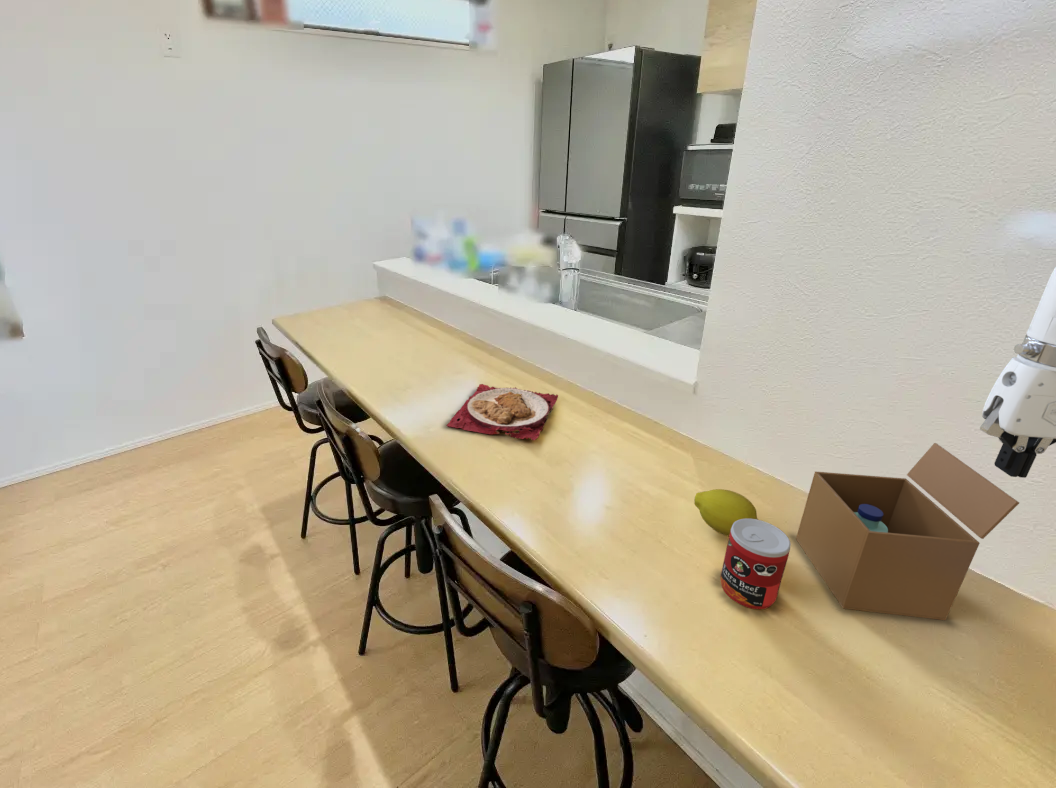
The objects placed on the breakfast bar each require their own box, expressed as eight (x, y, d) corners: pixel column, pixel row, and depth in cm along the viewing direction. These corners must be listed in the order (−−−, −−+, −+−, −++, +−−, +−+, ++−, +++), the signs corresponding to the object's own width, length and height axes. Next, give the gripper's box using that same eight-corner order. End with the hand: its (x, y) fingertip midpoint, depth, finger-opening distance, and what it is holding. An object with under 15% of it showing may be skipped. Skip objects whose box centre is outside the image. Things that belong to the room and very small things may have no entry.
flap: (906, 474, 81) (908, 475, 81) (980, 538, 68) (983, 539, 68) (934, 442, 79) (936, 443, 79) (1017, 501, 65) (1020, 502, 65)
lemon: (762, 535, 90) (771, 498, 87) (746, 556, 85) (755, 519, 82) (702, 506, 97) (709, 471, 95) (684, 524, 92) (690, 488, 90)
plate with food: (558, 401, 141) (559, 390, 140) (536, 444, 118) (536, 431, 117) (480, 388, 150) (480, 378, 148) (445, 426, 127) (445, 414, 126)
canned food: (708, 583, 80) (720, 528, 76) (739, 564, 83) (752, 511, 79) (754, 619, 73) (770, 561, 70) (786, 598, 77) (802, 541, 73)
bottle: (859, 560, 83) (880, 499, 79) (882, 589, 78) (906, 525, 73) (820, 556, 84) (839, 496, 80) (840, 584, 79) (861, 521, 74)
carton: (881, 547, 87) (905, 478, 82) (945, 620, 73) (980, 542, 68) (795, 538, 89) (814, 471, 84) (842, 608, 75) (868, 532, 70)
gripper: (1022, 362, 63) (971, 482, 69) (1163, 369, 61) (1097, 493, 67) (974, 341, 70) (931, 452, 76) (1099, 347, 68) (1044, 461, 74)
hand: (1009, 471), depth 71 cm, fingers closed
